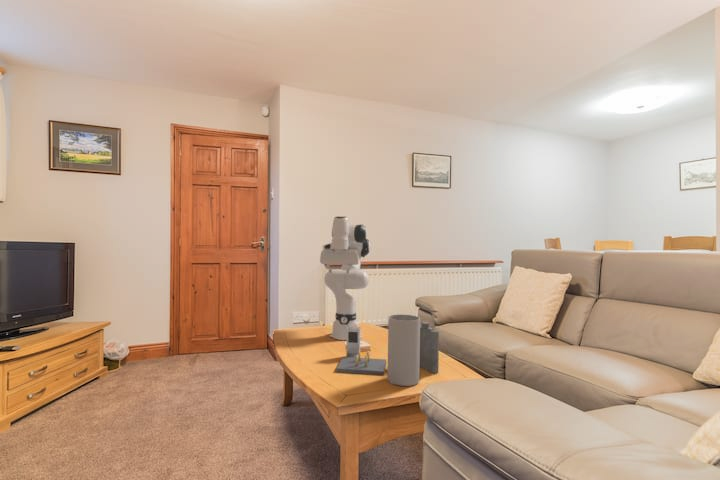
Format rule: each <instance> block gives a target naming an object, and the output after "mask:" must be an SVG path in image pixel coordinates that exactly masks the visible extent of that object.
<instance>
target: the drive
mask: <svg viewBox="0 0 720 480" xmlns="http://www.w3.org/2000/svg"><path fill="white" fill-rule="evenodd" d="M360 332H361V327H360V326H358V327H348V328H347V340H346V354H345V355H346V356H345V357H353V358H355V356H356V355H358V351H359V350H360V351H361V338H360Z"/></svg>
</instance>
